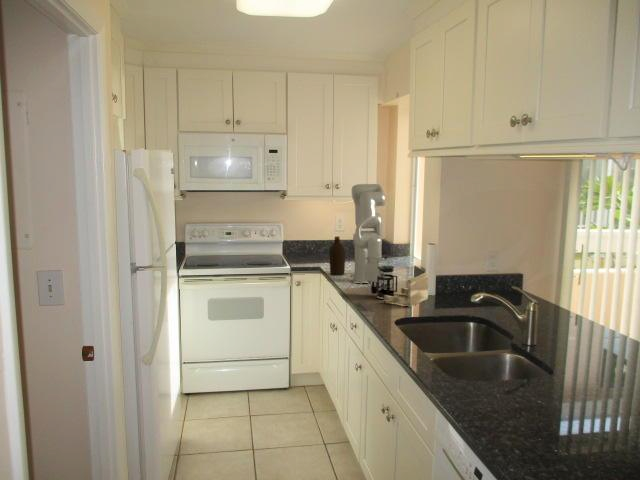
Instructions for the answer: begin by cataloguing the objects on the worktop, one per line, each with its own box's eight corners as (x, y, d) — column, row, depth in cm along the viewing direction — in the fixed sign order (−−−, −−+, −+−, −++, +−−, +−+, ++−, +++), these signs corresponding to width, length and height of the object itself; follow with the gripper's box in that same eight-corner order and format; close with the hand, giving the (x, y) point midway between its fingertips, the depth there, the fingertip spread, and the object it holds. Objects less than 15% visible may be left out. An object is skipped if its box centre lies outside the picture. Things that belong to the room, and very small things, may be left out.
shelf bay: (383, 303, 252) (384, 276, 250) (402, 294, 269) (402, 269, 267) (410, 307, 244) (410, 280, 242) (427, 298, 260) (428, 272, 258)
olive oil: (336, 276, 316) (336, 238, 312) (326, 274, 324) (325, 236, 320) (348, 274, 322) (348, 236, 319) (338, 271, 330) (337, 235, 327)
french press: (378, 300, 258) (379, 257, 254) (373, 296, 267) (373, 254, 263) (399, 299, 260) (400, 256, 257) (393, 294, 269) (394, 253, 266)
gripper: (359, 259, 266) (359, 292, 269) (383, 262, 257) (382, 296, 260) (366, 257, 272) (366, 289, 275) (390, 260, 263) (389, 293, 266)
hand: (374, 293), depth 267 cm, fingers closed
